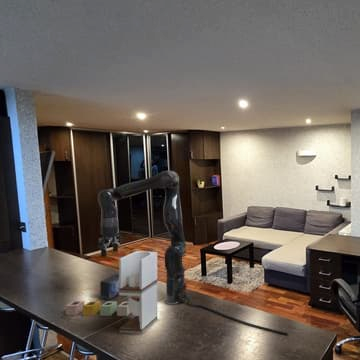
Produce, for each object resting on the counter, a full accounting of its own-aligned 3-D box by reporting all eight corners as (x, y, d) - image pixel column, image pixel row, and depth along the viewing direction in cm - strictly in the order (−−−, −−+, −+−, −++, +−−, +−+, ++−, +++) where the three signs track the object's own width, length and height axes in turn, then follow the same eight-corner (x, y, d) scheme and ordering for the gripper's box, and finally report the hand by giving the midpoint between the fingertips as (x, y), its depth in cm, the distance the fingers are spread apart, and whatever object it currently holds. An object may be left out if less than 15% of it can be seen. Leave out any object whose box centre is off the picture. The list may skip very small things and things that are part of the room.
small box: (108, 300, 154) (108, 282, 154) (99, 298, 156) (99, 281, 155) (125, 292, 165) (125, 275, 164) (116, 290, 166) (116, 274, 166)
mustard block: (100, 310, 144) (100, 301, 144) (92, 315, 139) (92, 306, 139) (90, 310, 144) (90, 300, 144) (82, 315, 139) (82, 305, 139)
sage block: (117, 310, 144) (117, 301, 144) (110, 315, 139) (110, 306, 139) (107, 310, 144) (107, 301, 144) (100, 315, 139) (100, 306, 139)
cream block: (133, 310, 145) (133, 301, 144) (127, 316, 140) (126, 306, 139) (123, 310, 144) (123, 301, 144) (117, 315, 139) (117, 306, 139)
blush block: (84, 310, 144) (84, 300, 143) (76, 315, 139) (76, 305, 138) (74, 310, 144) (74, 300, 143) (66, 315, 139) (66, 305, 138)
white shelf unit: (136, 318, 137) (136, 251, 136) (157, 319, 137) (157, 251, 135) (119, 332, 126) (118, 258, 124) (141, 333, 126) (141, 259, 124)
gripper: (106, 228, 142) (107, 258, 143) (125, 222, 156) (125, 250, 157) (92, 227, 142) (92, 258, 143) (112, 222, 156) (112, 249, 157)
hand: (109, 253), depth 150 cm, fingers open, 8 cm apart
